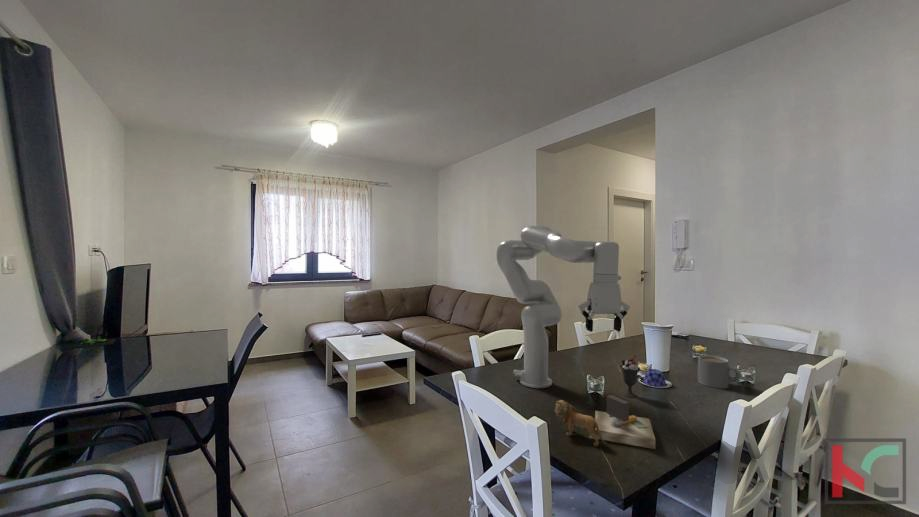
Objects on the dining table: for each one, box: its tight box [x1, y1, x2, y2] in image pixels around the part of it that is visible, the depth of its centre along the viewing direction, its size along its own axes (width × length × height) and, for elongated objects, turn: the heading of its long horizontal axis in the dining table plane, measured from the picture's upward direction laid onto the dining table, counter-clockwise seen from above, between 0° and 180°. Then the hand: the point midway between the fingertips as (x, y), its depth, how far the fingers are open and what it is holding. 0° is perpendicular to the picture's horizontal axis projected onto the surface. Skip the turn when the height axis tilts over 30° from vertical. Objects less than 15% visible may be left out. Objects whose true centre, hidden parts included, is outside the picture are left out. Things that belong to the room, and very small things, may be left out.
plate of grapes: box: [637, 368, 673, 389], centre depth 143 cm, size 12×12×5 cm
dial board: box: [594, 410, 656, 450], centre depth 104 cm, size 15×13×3 cm
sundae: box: [619, 354, 641, 399], centre depth 131 cm, size 7×7×15 cm
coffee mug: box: [697, 354, 741, 389], centre depth 141 cm, size 13×10×10 cm
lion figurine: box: [554, 399, 608, 447], centre depth 101 cm, size 15×5×9 cm, turn 52°
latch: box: [606, 394, 638, 426], centre depth 104 cm, size 8×6×7 cm
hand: (603, 330), depth 120 cm, fingers open, 9 cm apart
